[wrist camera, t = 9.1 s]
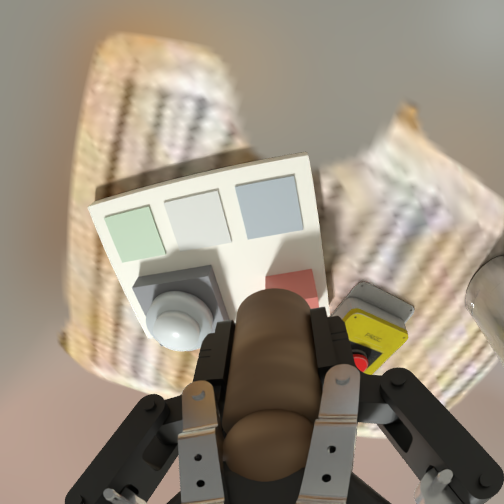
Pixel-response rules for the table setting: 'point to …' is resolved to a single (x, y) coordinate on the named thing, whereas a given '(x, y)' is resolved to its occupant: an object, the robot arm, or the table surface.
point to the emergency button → (373, 325)
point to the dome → (179, 320)
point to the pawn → (271, 387)
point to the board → (214, 234)
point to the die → (296, 285)
